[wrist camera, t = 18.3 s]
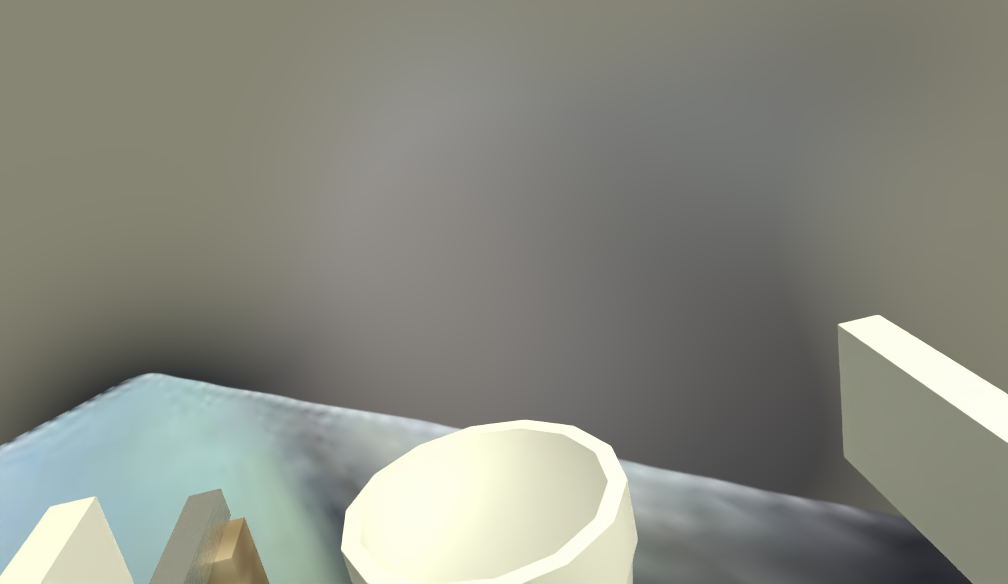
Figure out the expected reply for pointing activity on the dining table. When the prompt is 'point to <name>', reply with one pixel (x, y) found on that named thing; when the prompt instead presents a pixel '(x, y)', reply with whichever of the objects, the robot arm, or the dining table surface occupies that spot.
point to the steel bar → (194, 541)
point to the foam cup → (495, 511)
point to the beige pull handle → (237, 558)
